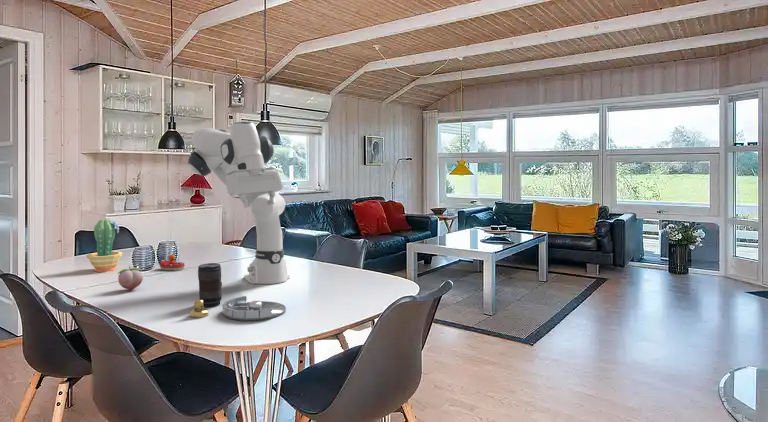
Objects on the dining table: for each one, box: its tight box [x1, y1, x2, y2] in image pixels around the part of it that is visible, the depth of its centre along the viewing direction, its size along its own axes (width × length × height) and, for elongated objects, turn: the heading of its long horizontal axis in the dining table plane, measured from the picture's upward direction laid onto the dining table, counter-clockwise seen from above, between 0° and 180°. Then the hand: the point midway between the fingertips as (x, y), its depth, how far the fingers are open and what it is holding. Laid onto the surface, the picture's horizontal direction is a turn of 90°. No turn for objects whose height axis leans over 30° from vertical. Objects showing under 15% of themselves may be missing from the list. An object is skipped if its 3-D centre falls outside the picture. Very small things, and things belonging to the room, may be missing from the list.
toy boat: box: [159, 254, 186, 272], centre depth 252 cm, size 8×12×8 cm, turn 82°
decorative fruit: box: [117, 266, 144, 291], centre depth 210 cm, size 9×8×10 cm
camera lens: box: [197, 262, 223, 308], centre depth 189 cm, size 8×8×15 cm
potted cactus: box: [86, 218, 123, 273], centre depth 249 cm, size 15×15×25 cm
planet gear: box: [189, 298, 209, 319], centre depth 175 cm, size 6×6×6 cm
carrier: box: [221, 295, 287, 322], centre depth 180 cm, size 22×22×3 cm
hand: (259, 206), depth 175 cm, fingers open, 8 cm apart
